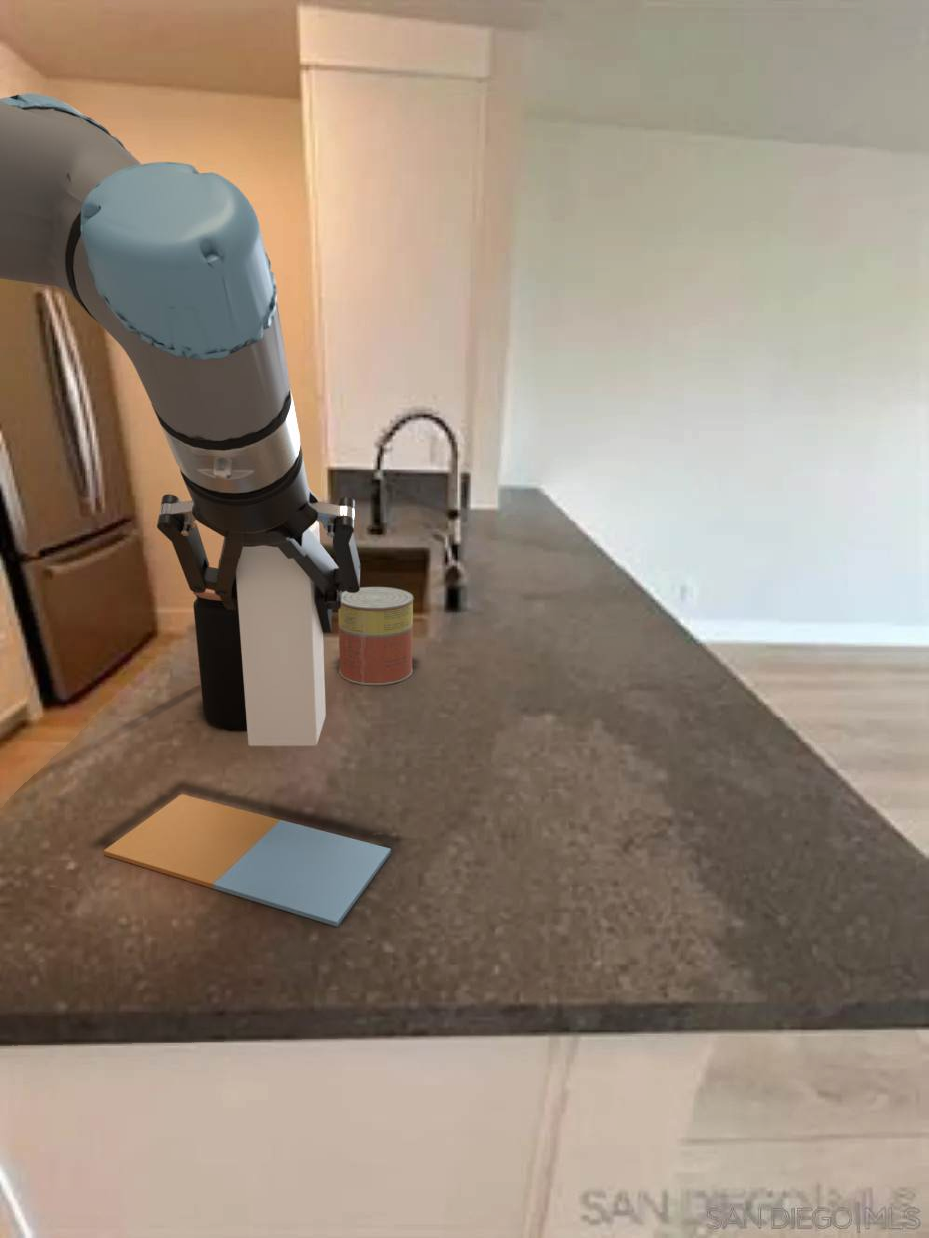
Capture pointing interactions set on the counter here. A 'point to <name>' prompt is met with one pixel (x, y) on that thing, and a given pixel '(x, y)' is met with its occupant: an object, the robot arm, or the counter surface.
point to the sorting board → (254, 857)
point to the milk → (280, 648)
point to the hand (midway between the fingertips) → (289, 619)
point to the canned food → (376, 636)
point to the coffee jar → (220, 661)
